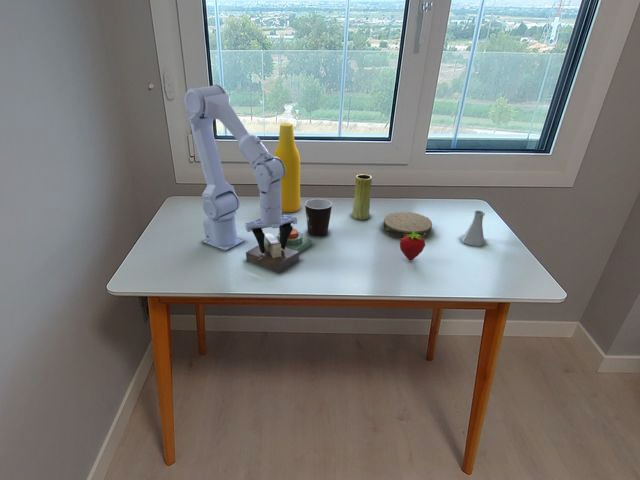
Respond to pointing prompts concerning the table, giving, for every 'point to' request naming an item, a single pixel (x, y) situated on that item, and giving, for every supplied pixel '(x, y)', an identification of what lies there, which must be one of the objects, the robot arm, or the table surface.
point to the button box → (297, 242)
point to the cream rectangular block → (272, 245)
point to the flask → (475, 230)
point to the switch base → (273, 259)
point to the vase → (362, 197)
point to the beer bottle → (289, 168)
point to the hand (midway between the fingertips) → (272, 249)
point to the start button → (293, 234)
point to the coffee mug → (318, 216)
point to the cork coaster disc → (407, 224)
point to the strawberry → (412, 245)
